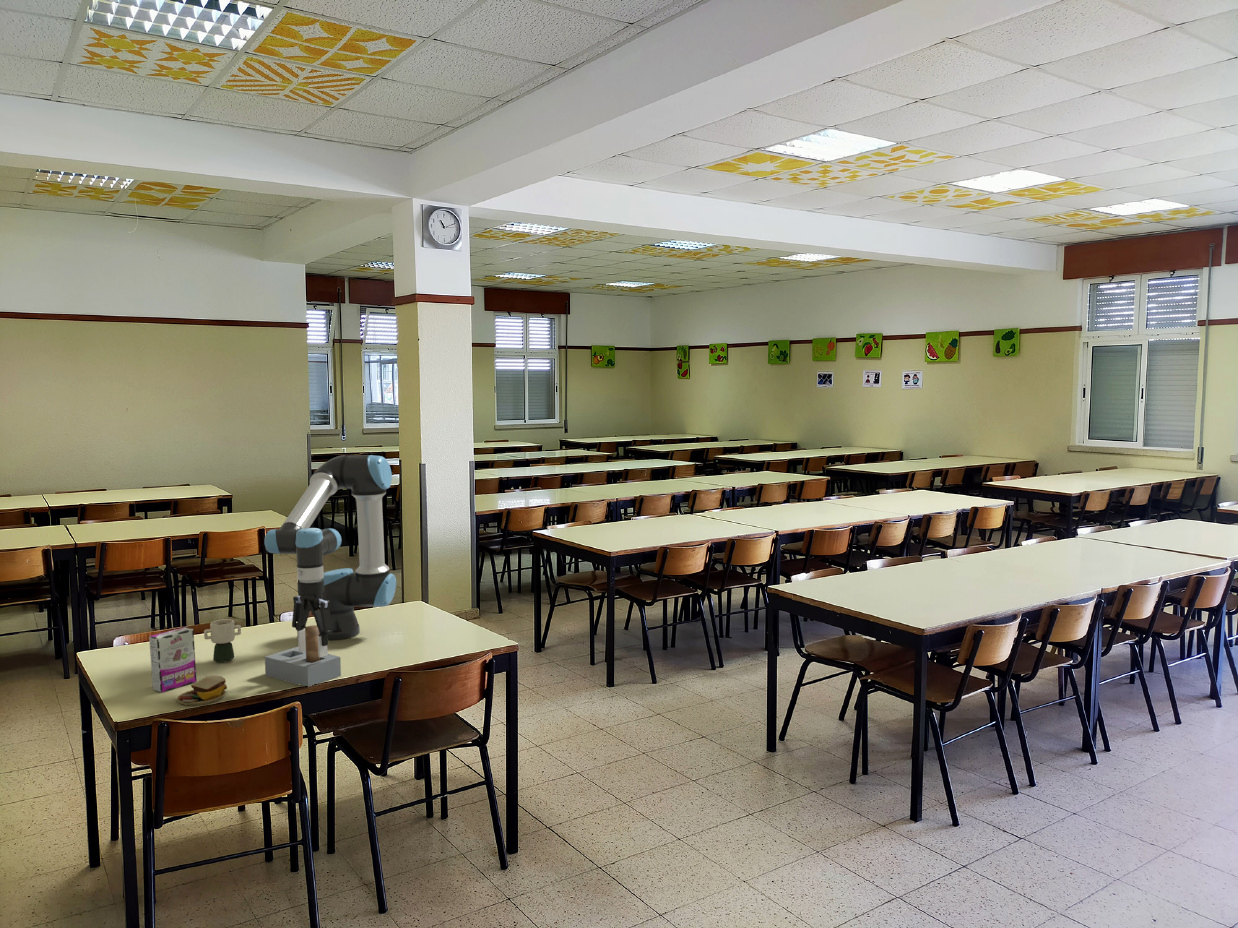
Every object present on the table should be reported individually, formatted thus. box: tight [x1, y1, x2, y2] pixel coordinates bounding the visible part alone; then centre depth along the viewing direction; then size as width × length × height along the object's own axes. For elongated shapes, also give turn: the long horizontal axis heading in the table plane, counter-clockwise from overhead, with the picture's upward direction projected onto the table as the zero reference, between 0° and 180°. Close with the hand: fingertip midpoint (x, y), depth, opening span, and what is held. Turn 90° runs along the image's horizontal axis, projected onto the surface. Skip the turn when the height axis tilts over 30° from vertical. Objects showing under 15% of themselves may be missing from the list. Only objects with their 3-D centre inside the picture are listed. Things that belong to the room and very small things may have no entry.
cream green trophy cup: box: [203, 618, 242, 663], centre depth 277 cm, size 11×7×13 cm, turn 122°
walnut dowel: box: [305, 624, 320, 663], centre depth 260 cm, size 4×4×14 cm
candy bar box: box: [148, 626, 198, 694], centre depth 253 cm, size 11×5×16 cm, turn 148°
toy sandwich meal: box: [176, 674, 228, 707], centre depth 244 cm, size 12×14×5 cm
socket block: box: [264, 646, 342, 688], centre depth 263 cm, size 20×12×6 cm, turn 58°
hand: (313, 653), depth 260 cm, fingers open, 8 cm apart
